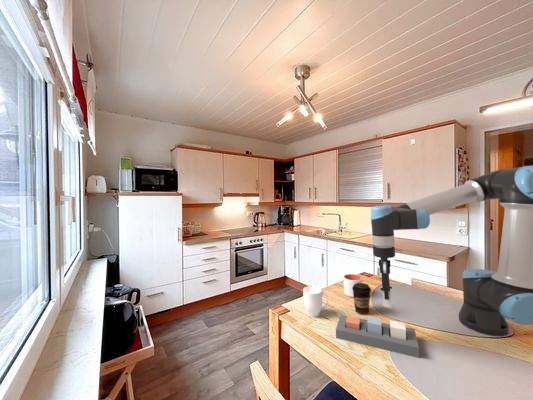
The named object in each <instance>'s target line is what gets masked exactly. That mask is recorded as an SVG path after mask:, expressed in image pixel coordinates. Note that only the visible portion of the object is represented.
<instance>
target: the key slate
mask: <svg viewBox="0 0 533 400" xmlns="http://www.w3.org/2000/svg"><path fill="white" fill-rule="evenodd" d="M366 320H367V332H370V333H375V334H379V335H382V323H383V322H382V318H380V317H375V316H370V315H367V319H366Z"/></svg>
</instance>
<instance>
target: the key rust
mask: <svg viewBox="0 0 533 400" xmlns="http://www.w3.org/2000/svg"><path fill="white" fill-rule="evenodd" d="M346 316H347V320H346V327H347V328H352V329H356V330H361V328H360V319H361V318H360V317H356V316H350V315H346Z"/></svg>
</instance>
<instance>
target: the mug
mask: <svg viewBox="0 0 533 400" xmlns="http://www.w3.org/2000/svg"><path fill="white" fill-rule="evenodd" d="M302 292H303V295H302V296H303V304H304V307H305V309H306V312H307V315H308V316H309V317H312V318H317V317H319V315H320V313H321V311H322V310H324V309H325V308H326V307H327V306H328V304H329V298H328V297H329V296H328V294H326V293H325V292H324V291H322V289H321V288H320V287H319V286H316V285H314V286H313V285H312V286H311V285H310V286H305V287H303V289H302ZM323 295H325V296H326V298H327V301H326V303H325V304H324V305H323Z"/></svg>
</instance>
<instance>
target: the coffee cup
mask: <svg viewBox="0 0 533 400" xmlns="http://www.w3.org/2000/svg"><path fill="white" fill-rule="evenodd" d="M352 289H353V295H354V298H353V300H354V301H353V302H354V303H353V304H354V307H355V312H356V314H359V315H369V314H370V303H371V301H370V300H371V299H370V298H371V296H370V295H371V290H372V289H371V287H370V285H369V284H367V283H363V282H362V283H356V284H354V286H353V288H352Z"/></svg>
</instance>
